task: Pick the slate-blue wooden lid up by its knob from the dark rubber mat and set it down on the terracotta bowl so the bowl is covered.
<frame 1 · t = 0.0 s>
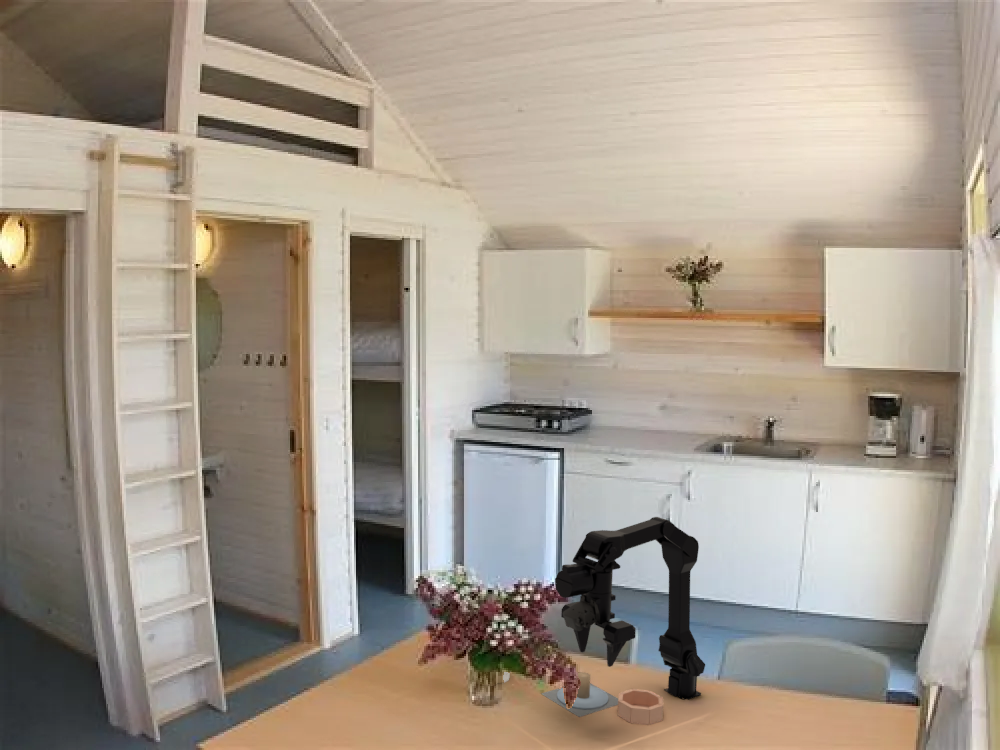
hand: (595, 658, 195), 15 cm above the table, fingers open, 9 cm apart
lid: (582, 697, 207), point 1 cm above the table, touching mat
white cup: (495, 680, 217), on the table
mat: (582, 700, 207), on the table
bowl: (640, 716, 200), on the table
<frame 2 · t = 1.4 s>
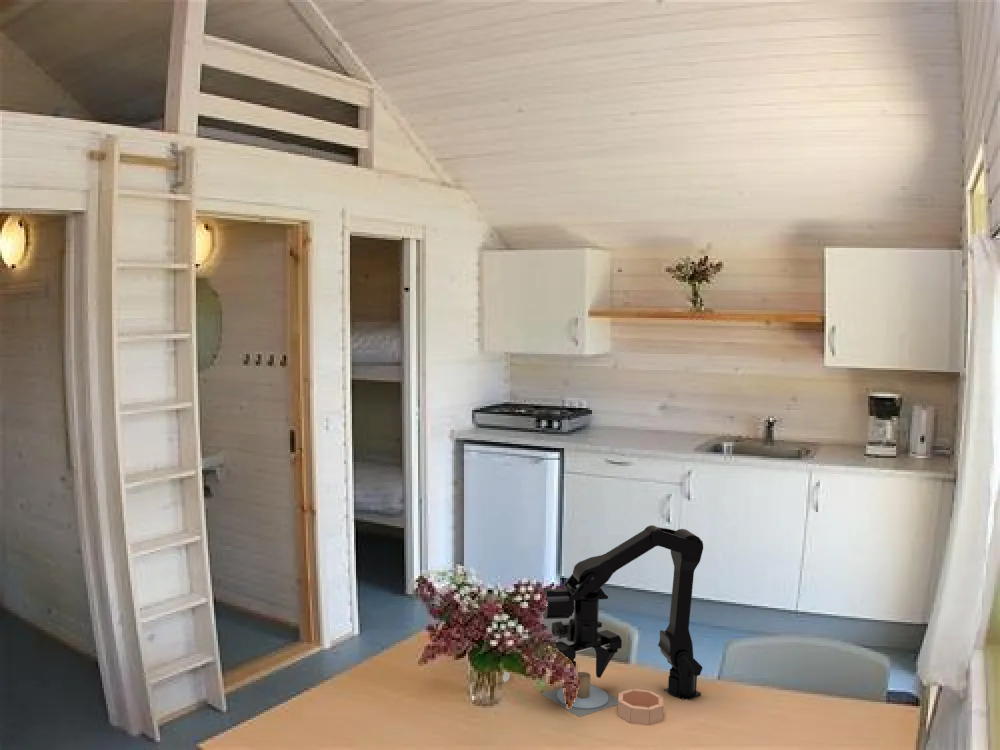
hand: (583, 681, 207), 5 cm above the table, fingers open, 9 cm apart
nothing on the table moved.
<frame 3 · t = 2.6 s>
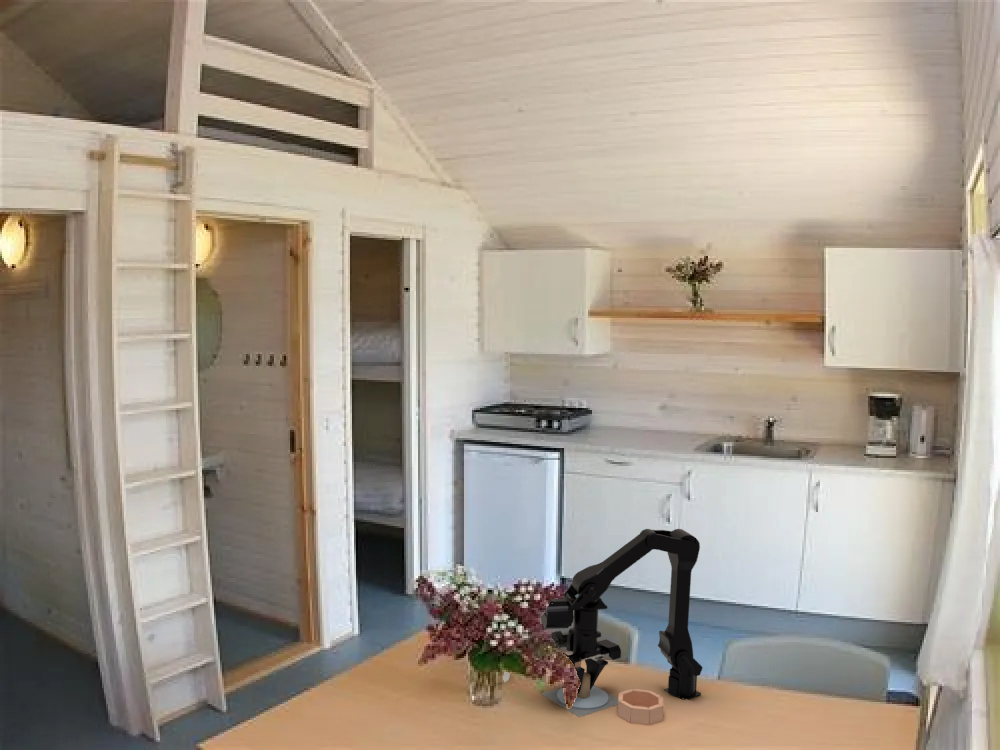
hand: (582, 691, 207), 2 cm above the table, fingers closed on lid, 3 cm apart
lid: (582, 697, 207), point 1 cm above the table, touching gripper, mat
everything else where it was.
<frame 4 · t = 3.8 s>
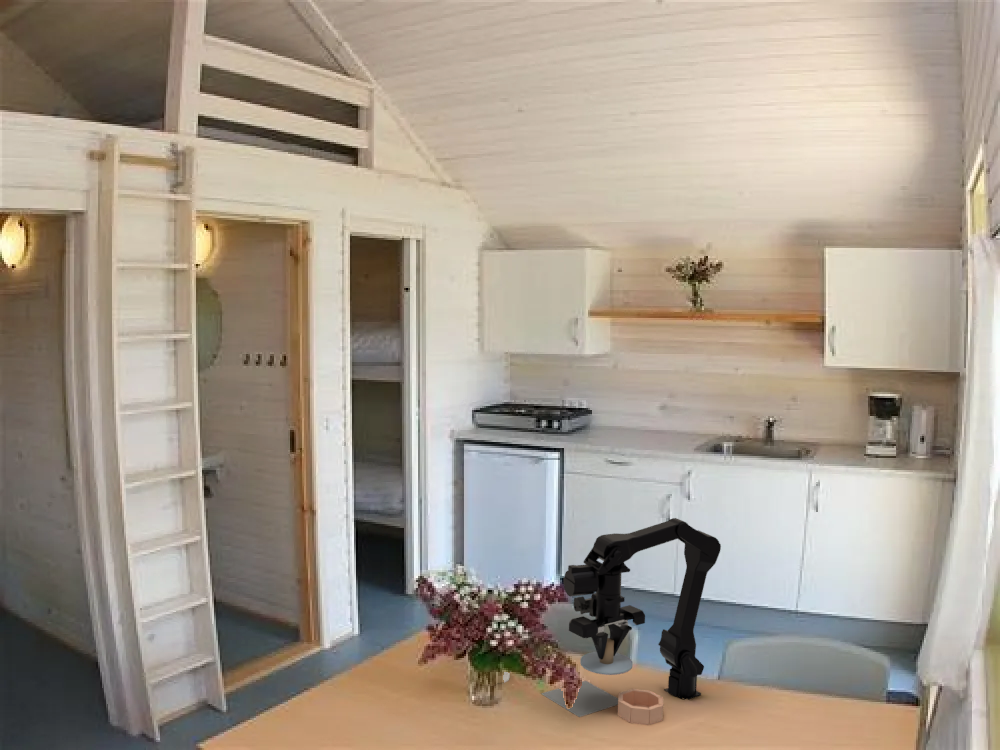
hand: (606, 657, 204), 12 cm above the table, fingers closed on lid, 3 cm apart
lid: (606, 663, 204), point 10 cm above the table, touching gripper
everything else where it was.
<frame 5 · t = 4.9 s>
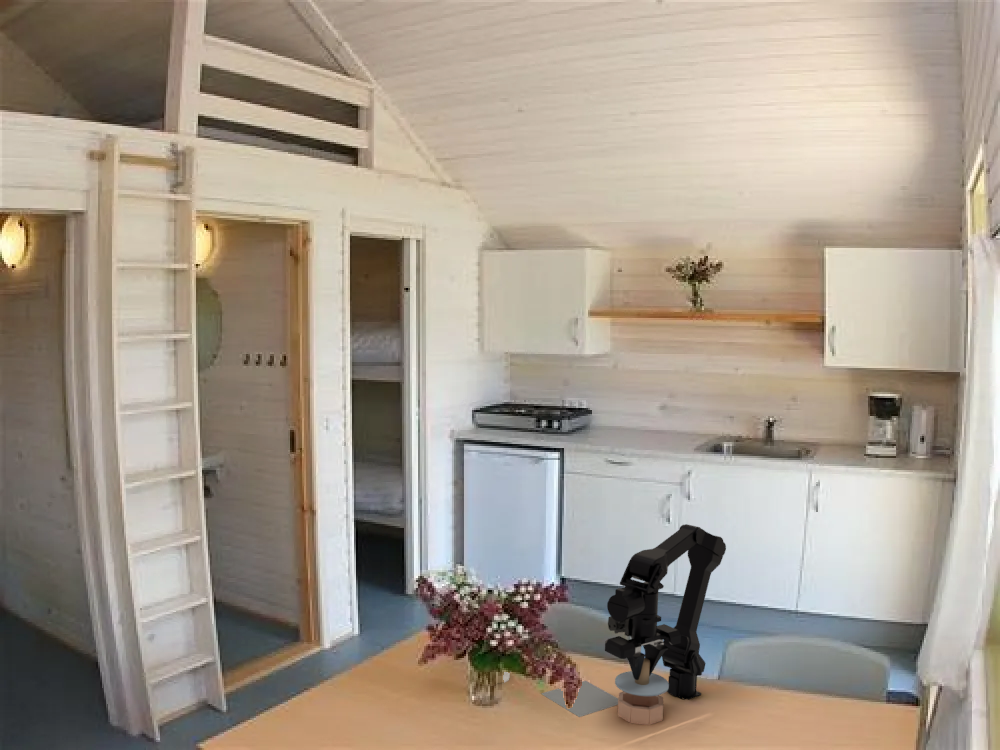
hand: (641, 677, 200), 9 cm above the table, fingers closed on lid, 3 cm apart
lid: (641, 684, 200), point 7 cm above the table, touching gripper
everything else where it was.
when the fingers open (7 cm above the table, at t = 5.4 s): lid drops 2 cm, resting on bowl.
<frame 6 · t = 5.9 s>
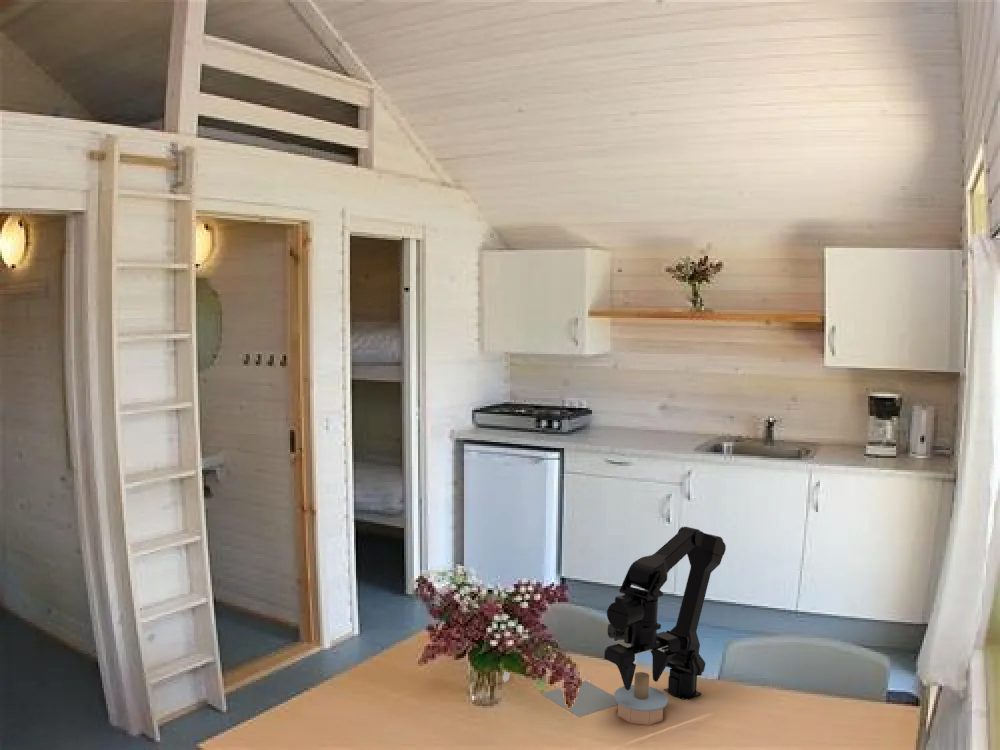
hand: (641, 685, 200), 7 cm above the table, fingers open, 8 cm apart
lid: (641, 698, 200), point 4 cm above the table, touching bowl
everything else where it was.
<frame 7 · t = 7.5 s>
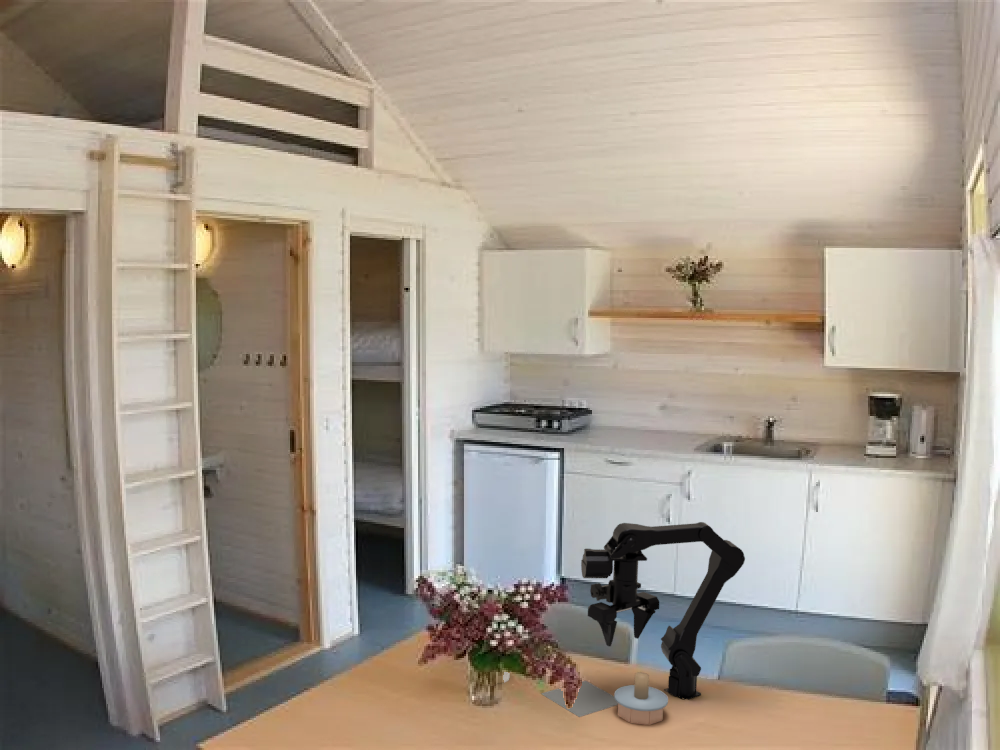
hand: (622, 641, 210), 13 cm above the table, fingers open, 9 cm apart
nothing on the table moved.
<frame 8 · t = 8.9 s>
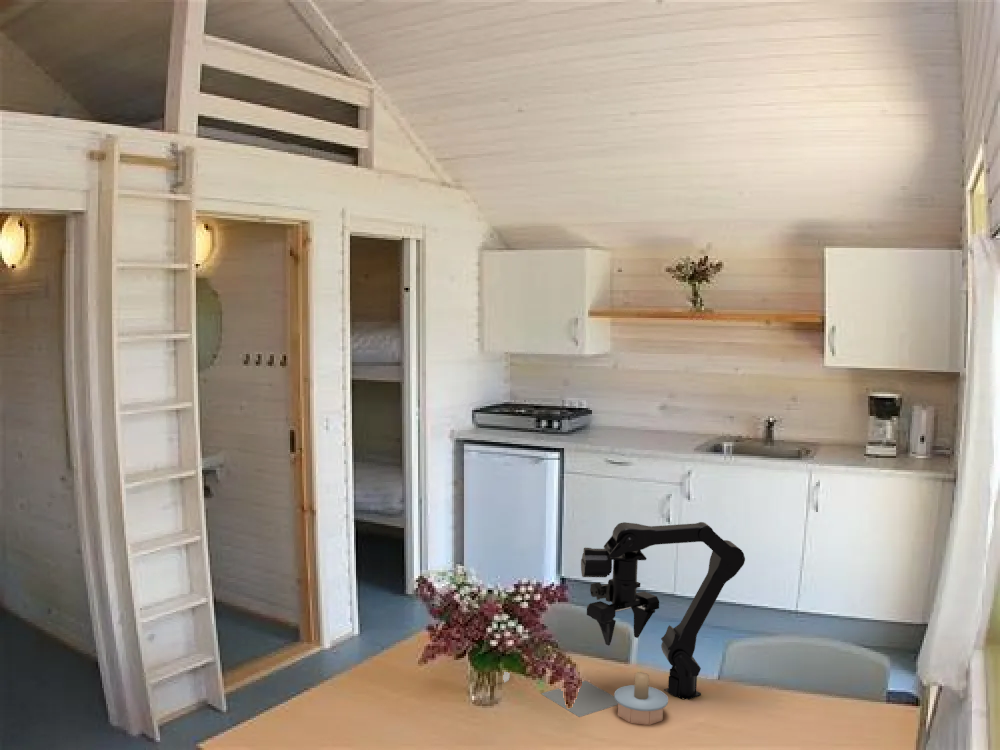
hand: (622, 641, 211), 13 cm above the table, fingers open, 9 cm apart
nothing on the table moved.
at the end: lid 0.1 cm off-centre on the bowl, point 4.0 cm above the bowl's base; lid tilted 0°; the gripper is holding nothing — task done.
